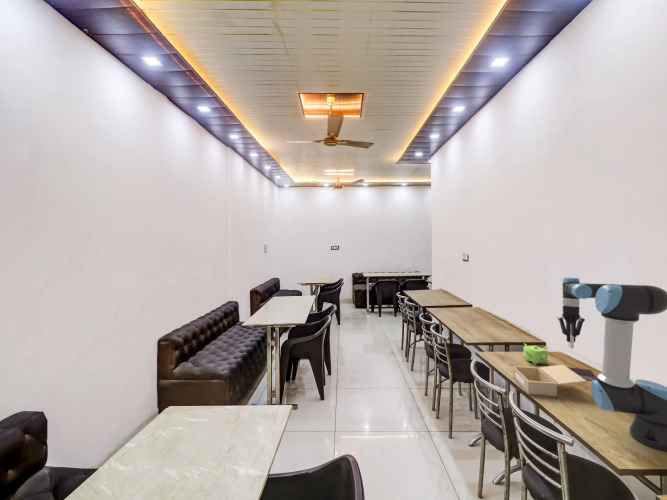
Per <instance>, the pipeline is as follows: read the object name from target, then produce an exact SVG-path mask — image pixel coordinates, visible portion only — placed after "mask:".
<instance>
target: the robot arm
mask: <svg viewBox="0 0 667 500" xmlns="http://www.w3.org/2000/svg"><path fill="white" fill-rule="evenodd" d="M561 285H562V314H561V316H558V317H557V318H556V319H557V320H558V321H559V325H560V329H561V332H562V334H563V335H564V336H566V342H567V347H568V348H569V349H575V343H576V338H577V336H580V334H581V332H582V327H583V323H584V322H585V321H586V319H585V318H584V317H581V315H580V299H583V300H584V299H585V300H586V299H594V301H595V302H594V303H595V308H596V310H597V311H598V312H600V316H601V317H602V318H603V319H604V320H605V323H604V336H603V337H604V338H603V339H604V340H603V356H602V368H601V369H602V372H600V373H598V374H597V376H596V378H597V379H596V380H590V383H589V384H590V385H589V387H590V393H591V396H592V399H593V401H594V403H595V404H596V405H597V407H598V408H600V409H601V410H603V411H609V412H612V413H615V412H617V413H625V414H631V415H632V414H634V418H633V420H632V422H631V425H630V426H629V435H630V436H631V438H633V439H634V440H635V441H637V442H638V443H640V444H642V445H645V446H647V447H650V448H653V449H656V450H659V451H663V452H664V451H665V452H667V386H665V385H663V384H661V383H657V382H654V381H651V380H647V379H636V380H635V381H634V382H633V380H632V379H630V374H631V373H630V372H631V363H632V362H631V360H632V350H633V349H632V346H633V335H634V324H635V323H637V322H639V321H640V315H658V314H661V313H664V312H665V311H667V291H666V290H665V289H663V288H661V287H658V286H656V285H655V286H654V285H649V284H648V285H646V284H645V285H644V284H619V283H618V284H617V283H584V282H583V283H581V282H580V279H579V278H578V277H564V278H562V284H561Z"/></svg>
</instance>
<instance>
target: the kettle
mask: <svg viewBox="0 0 667 500" xmlns="http://www.w3.org/2000/svg"><path fill="white" fill-rule="evenodd" d="M523 344H524V346H523V359H525V360H526V361H527V362H528V361H531V362H530V363H532V364H533V365H534V364H540V363H541V365H544V364H546V363H548V361H549V360H548V359H549V355H548V350H547V349H548V346H544V347H539V346H538V345H527V344H526V343H523ZM548 364H549V363H548Z"/></svg>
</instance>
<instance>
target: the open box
mask: <svg viewBox="0 0 667 500" xmlns="http://www.w3.org/2000/svg"><path fill="white" fill-rule="evenodd" d="M512 379H513V380H514V379H515V380H516V381H517V382H518V383H519V384H518V383H517V382H516V381H515V380H514V381H515V382H516V383H517V384H518V385H519V386H520V388H521V389H522V390H523V391H524V392H525V393H526V394H527V395H530V396H541V397H542V396H544V397H558V384H557V383H556V382H555V381H553V380H552V379H551V378H550V377H549V376H547V375H546V374H545V373H544V372H543V371H542V370H540V369H539V367H530V366H516V365H515V366H514V365H513V366H512Z"/></svg>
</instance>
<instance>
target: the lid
mask: <svg viewBox="0 0 667 500" xmlns="http://www.w3.org/2000/svg"><path fill="white" fill-rule="evenodd" d="M555 365H556V364H555ZM567 367H568V366H565V365H564V364H558V365H556V366H553V365H548V366H547V365H546V366H539V367H538V368H539V369H540V370H542V371H543V372H544V373H545V374H546V375H547V376H549V377H550V378H551V379H552V380H553V381H555V382H556V383H557V386H566V385H574V384H576V385H577V384H584V383H587V384H588V380H585V379H583V378H582V377H580V376H579V375H577V374H576V373H575V372H573V371H572V370H570V369H569V368H567Z"/></svg>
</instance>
